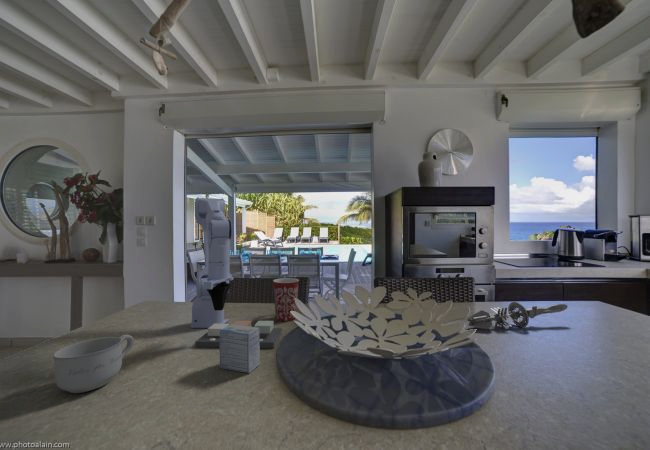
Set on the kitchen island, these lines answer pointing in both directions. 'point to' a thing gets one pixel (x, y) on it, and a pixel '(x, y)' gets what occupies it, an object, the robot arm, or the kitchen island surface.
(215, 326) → the ivory key
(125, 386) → the kitchen island surface
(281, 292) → the mug
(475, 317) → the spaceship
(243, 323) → the terracotta key
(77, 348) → the teacup
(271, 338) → the keypad
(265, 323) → the sage key
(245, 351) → the grey layered block
